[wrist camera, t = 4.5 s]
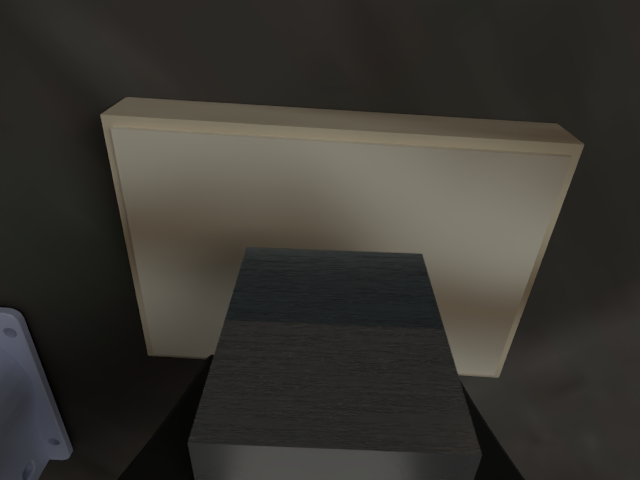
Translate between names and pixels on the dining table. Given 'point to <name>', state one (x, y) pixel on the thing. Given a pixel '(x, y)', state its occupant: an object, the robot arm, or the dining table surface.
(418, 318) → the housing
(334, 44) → the dining table surface
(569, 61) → the dining table surface
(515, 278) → the cream flat block
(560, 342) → the dining table surface
